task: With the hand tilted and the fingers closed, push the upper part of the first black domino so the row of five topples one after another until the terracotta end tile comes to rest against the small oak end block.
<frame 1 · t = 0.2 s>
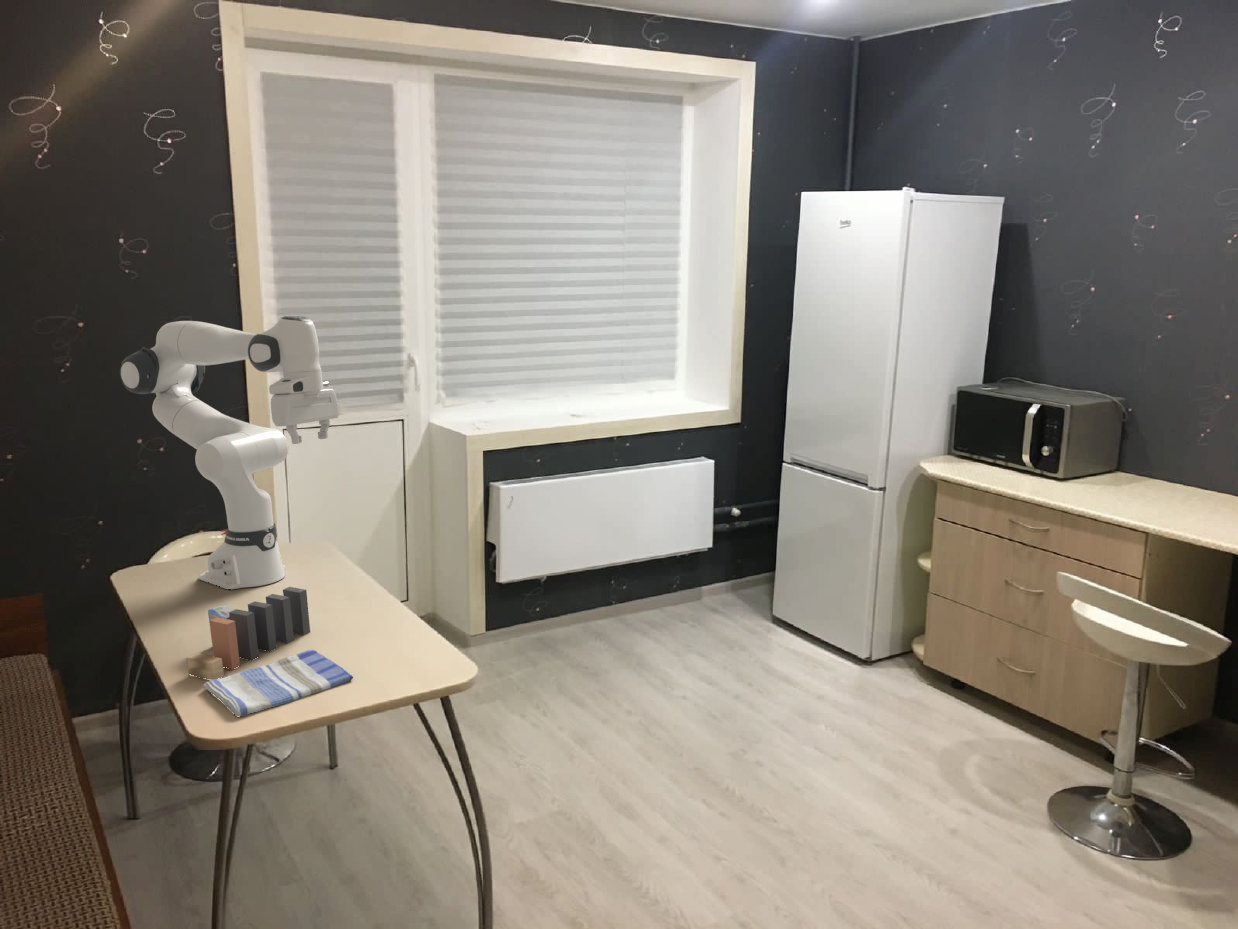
hand: (310, 441, 233), 39 cm above the table, tool pointing down, fingers open, 8 cm apart
medicine box: (230, 649, 208), on the table
domino 1: (298, 632, 216), on the table
domino 2: (281, 640, 211), on the table
domino 5: (227, 666, 198), on the table
domino 4: (246, 657, 203), on the table
end block: (206, 676, 194), on the table
domino 3: (264, 648, 207), on the table
dish towel: (279, 689, 189), on the table
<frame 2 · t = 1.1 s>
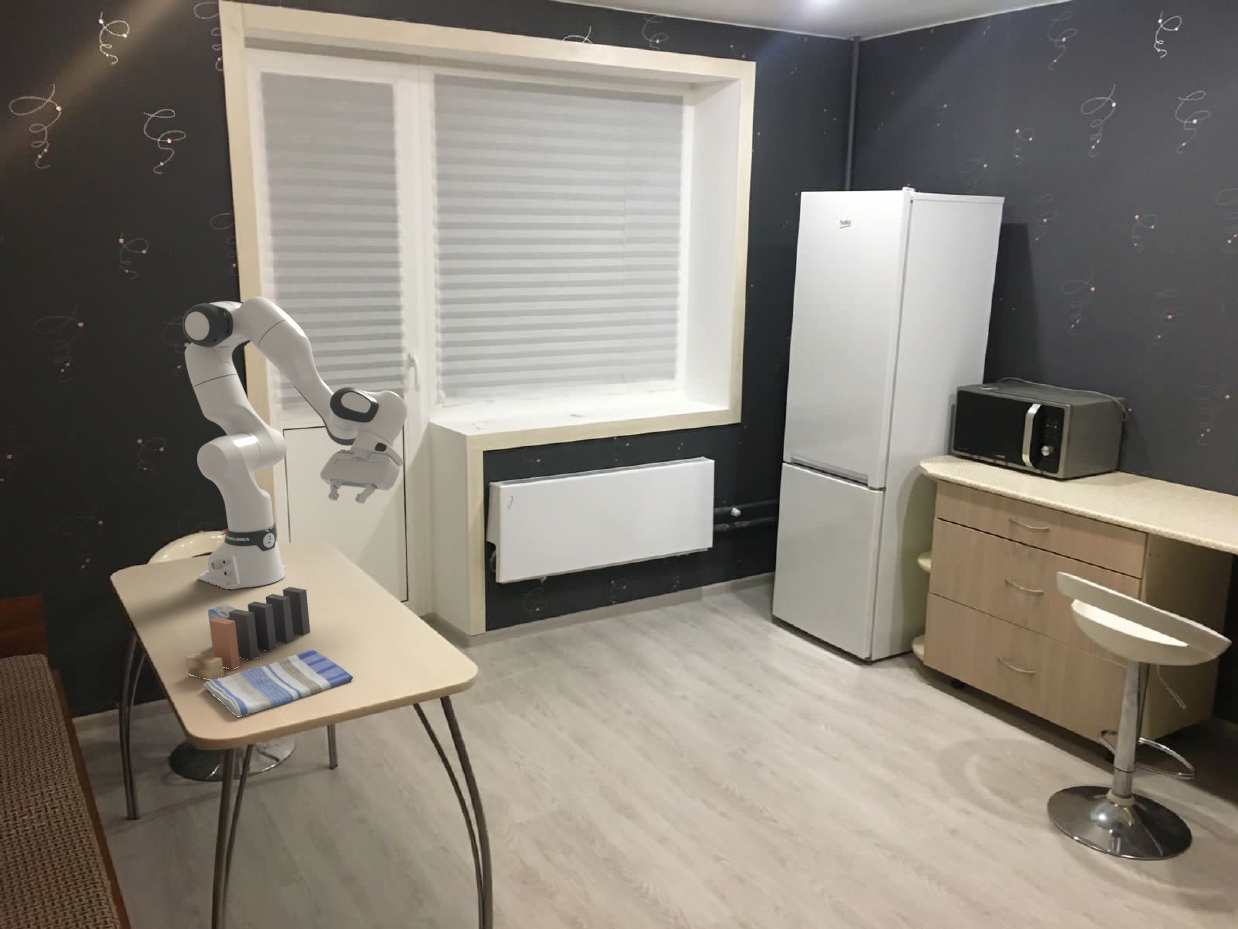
hand: (345, 500, 226), 26 cm above the table, tool tilted 45°, fingers open, 7 cm apart
nothing on the table moved.
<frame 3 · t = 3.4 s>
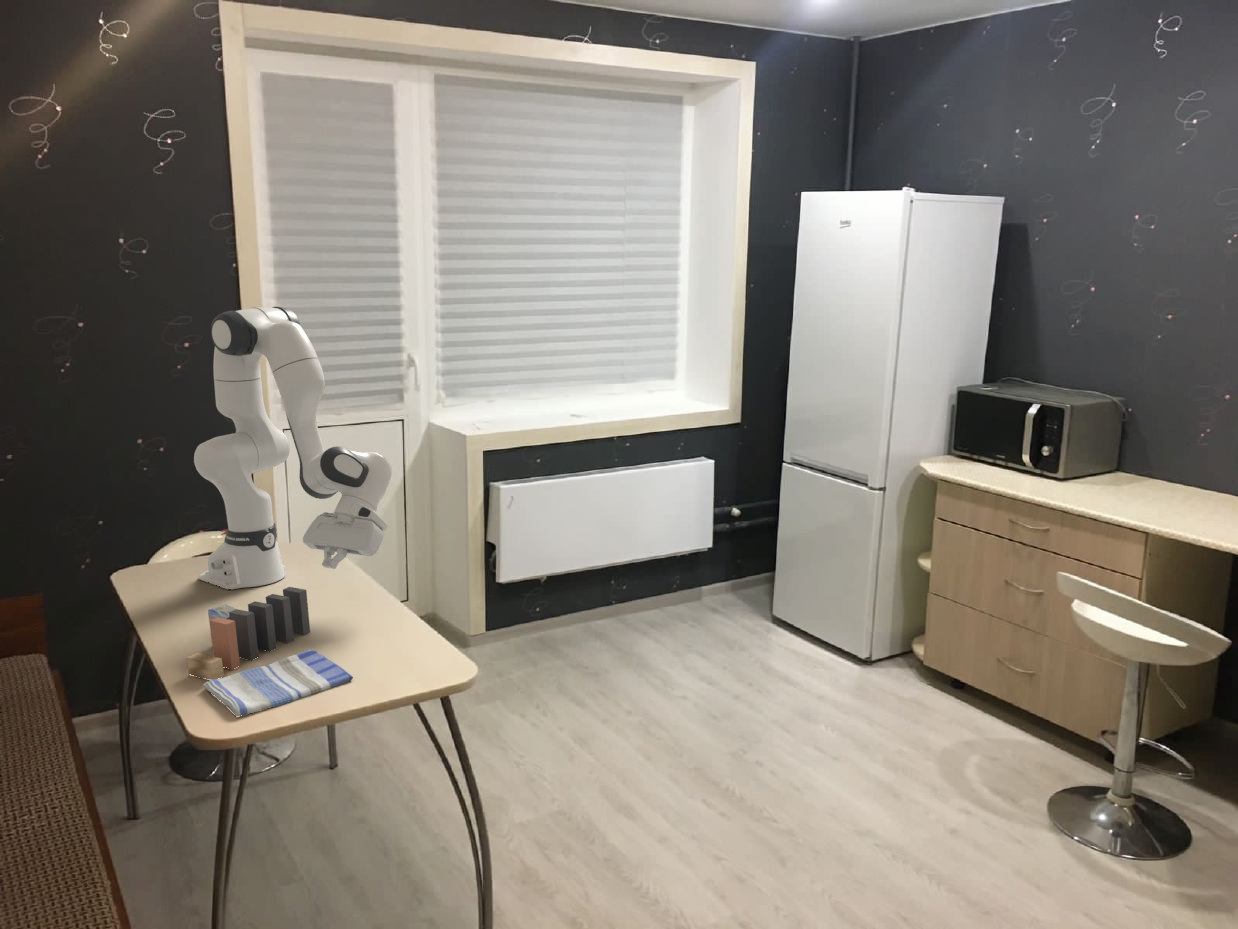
hand: (328, 567, 222), 12 cm above the table, tool tilted 45°, fingers closed
nothing on the table moved.
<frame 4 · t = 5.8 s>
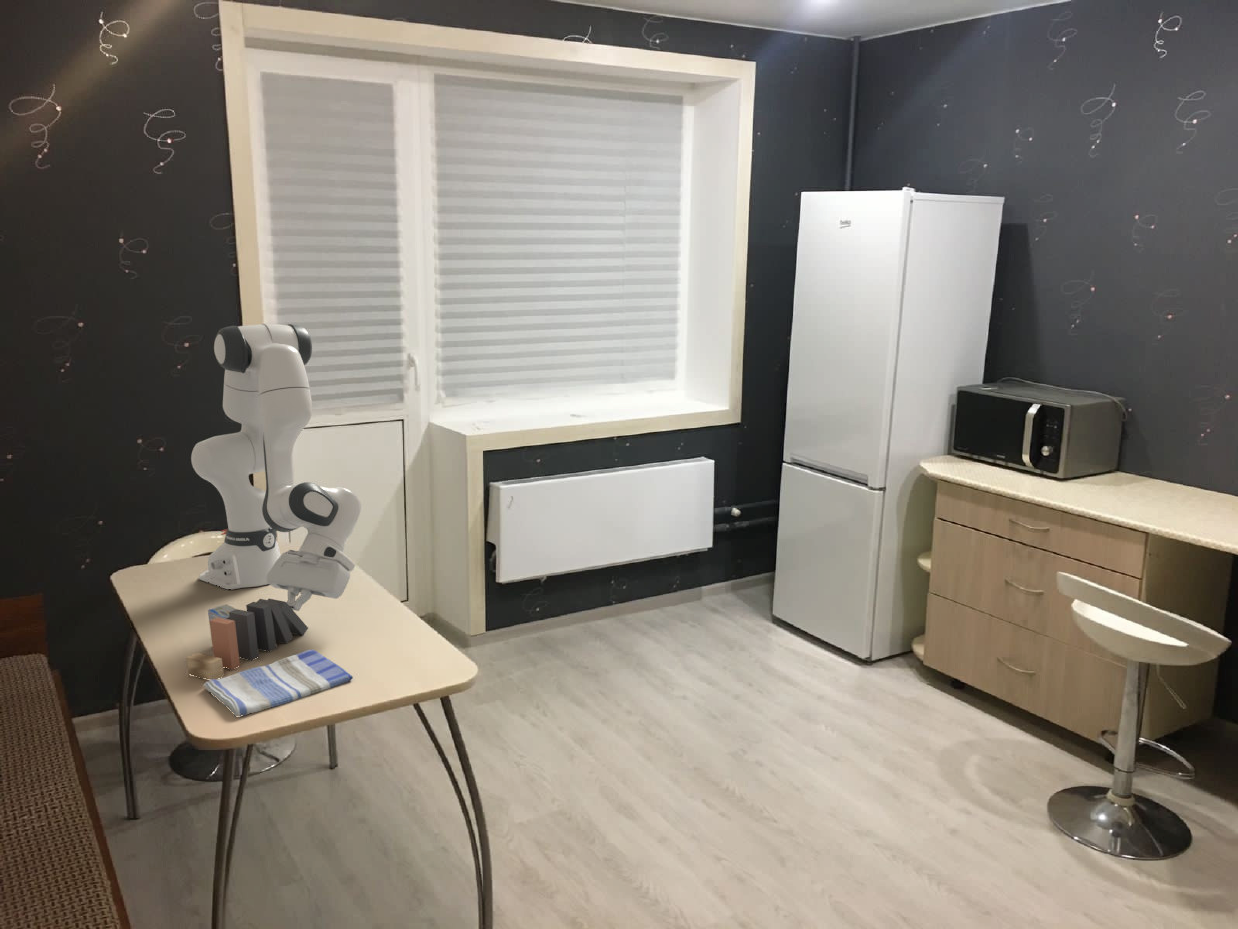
hand: (291, 609, 213), 6 cm above the table, tool tilted 45°, fingers closed
domino 1: (297, 629, 215), point 1 cm above the table, tilted 35°, touching domino 2
domino 2: (281, 638, 211), on the table, tilted 20°, touching domino 1
everything else where it was.
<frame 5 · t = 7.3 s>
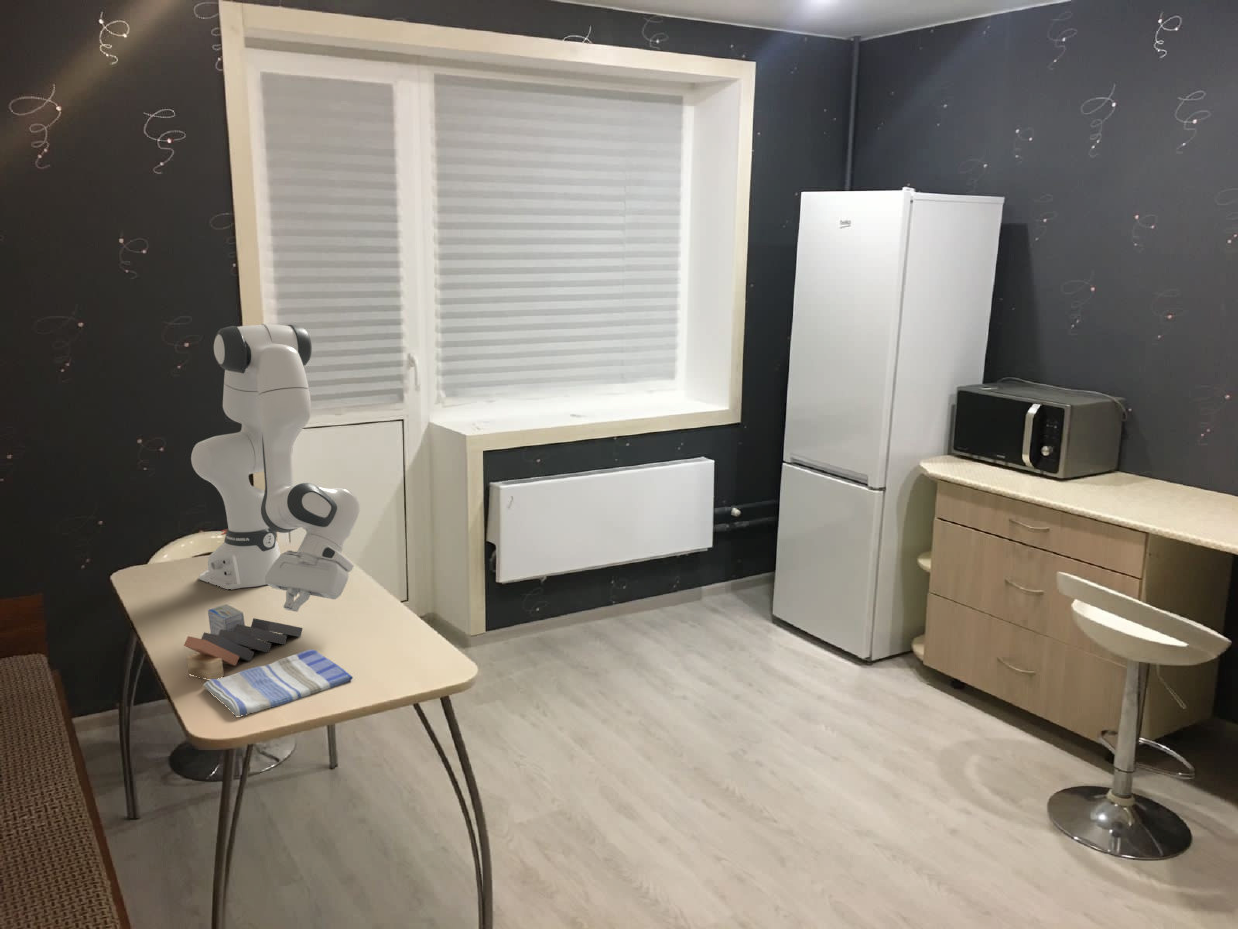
hand: (289, 609, 213), 6 cm above the table, tool tilted 45°, fingers closed
domino 1: (293, 630, 214), point 1 cm above the table, tilted 62°, touching domino 2
domino 2: (277, 638, 210), point 1 cm above the table, tilted 59°, touching domino 1, domino 3
domino 5: (228, 659, 199), point 1 cm above the table, tilted 49°, touching domino 4, end block
domino 4: (243, 655, 202), point 1 cm above the table, tilted 49°, touching domino 3, domino 5
domino 3: (261, 646, 206), point 1 cm above the table, tilted 56°, touching domino 2, domino 4
everything else where it was.
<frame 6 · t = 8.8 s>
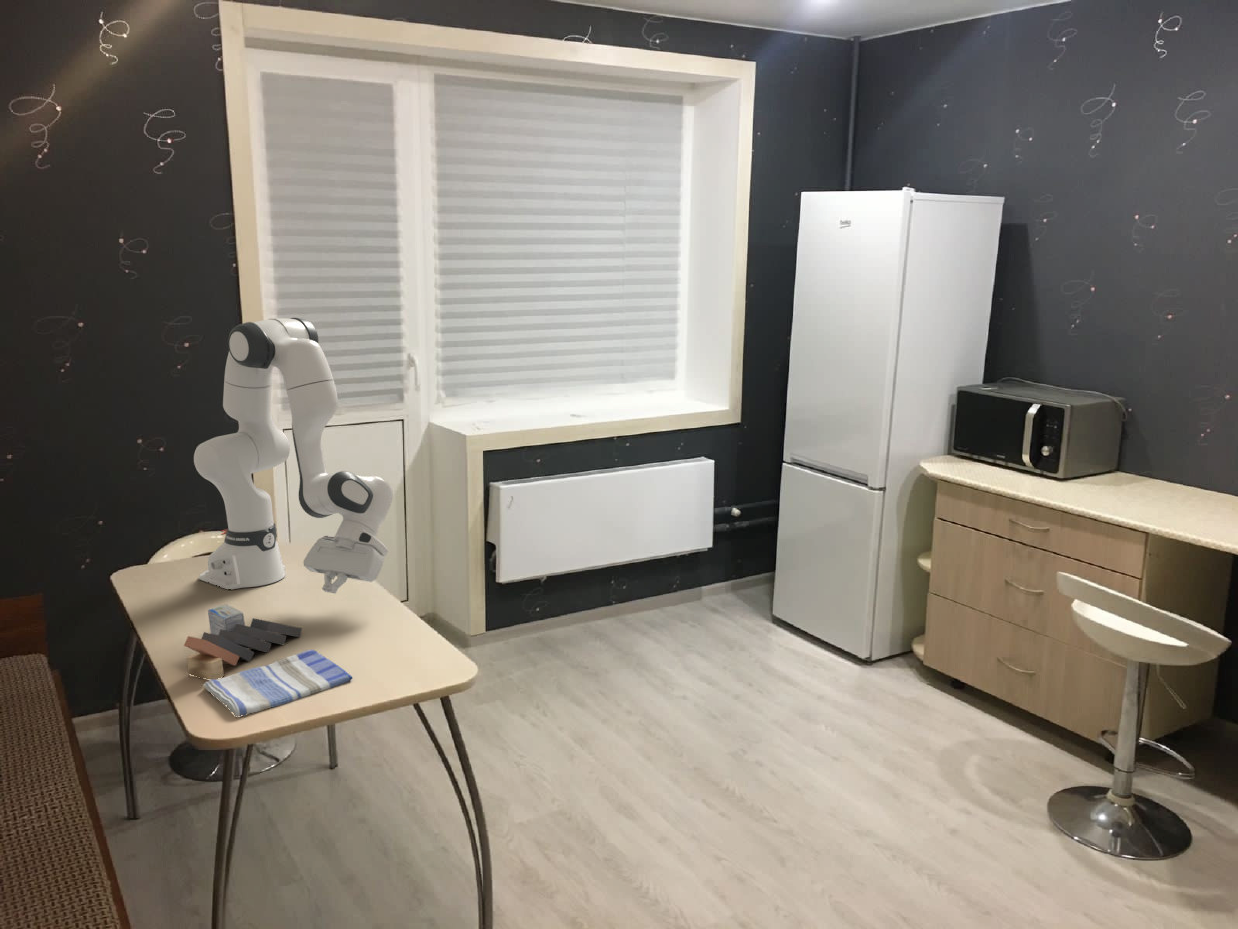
hand: (328, 591, 224), 6 cm above the table, tool tilted 45°, fingers closed
nothing on the table moved.
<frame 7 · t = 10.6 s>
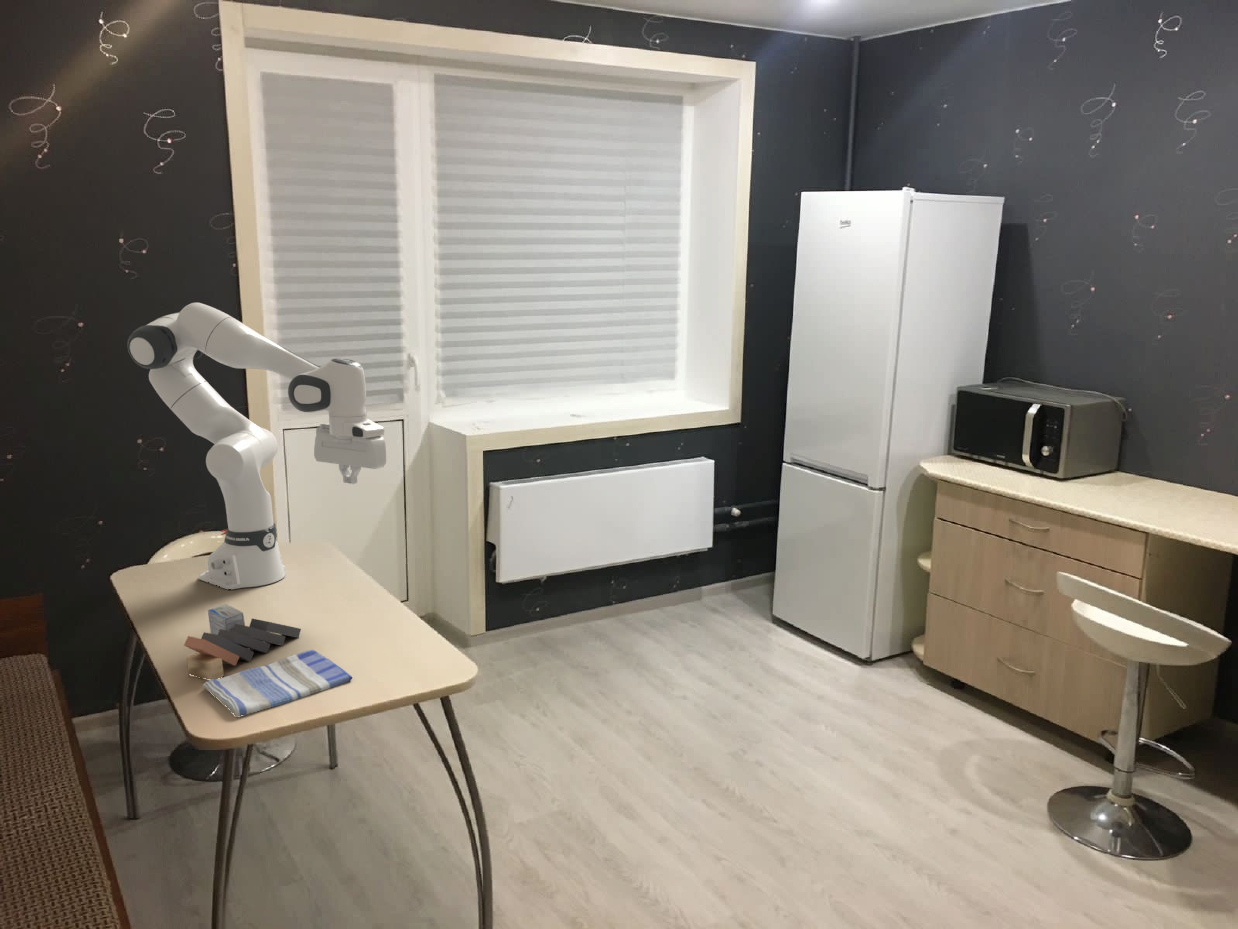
hand: (350, 483, 234), 28 cm above the table, tool pointing down, fingers closed
domino 1: (291, 631, 214), point 1 cm above the table, tilted 61°
domino 2: (275, 639, 210), point 1 cm above the table, tilted 58°, touching domino 3
everything else where it was.
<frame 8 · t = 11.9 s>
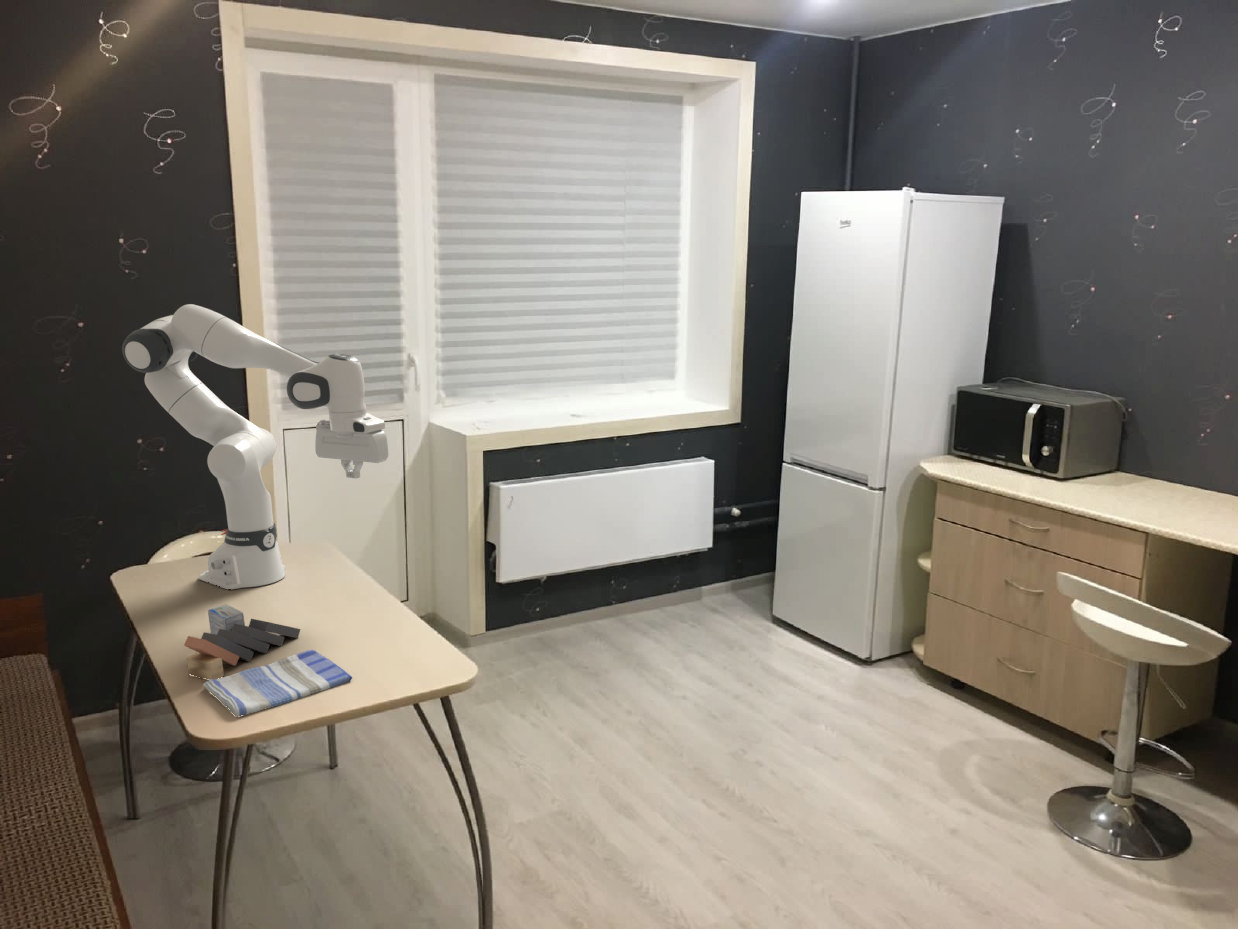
hand: (353, 477, 235), 29 cm above the table, tool pointing down, fingers closed
domino 1: (290, 631, 214), point 1 cm above the table, tilted 61°, touching domino 2
domino 2: (274, 639, 209), point 1 cm above the table, tilted 57°, touching domino 1, domino 3
everything else where it was.
at the end: domino 5 tilted 49°; domino 1 tilted 61° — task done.
